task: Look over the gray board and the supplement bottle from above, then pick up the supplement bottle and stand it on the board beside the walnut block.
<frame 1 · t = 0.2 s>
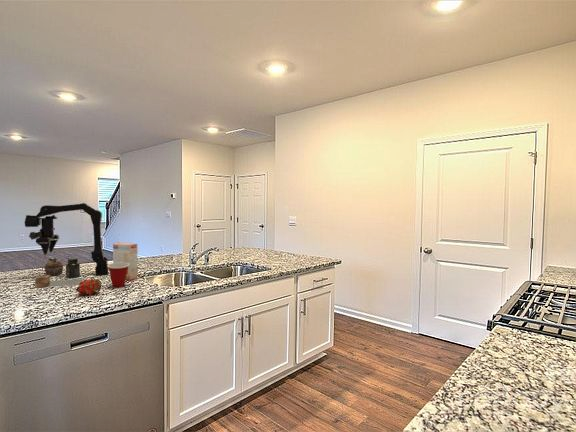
hand: (48, 253, 197), 15 cm above the table, tool pointing down, fingers open, 9 cm apart
walnut block: (42, 286, 175), point 1 cm above the table, touching gray board
plastic cup: (118, 286, 182), on the table
dragon fruit: (88, 295, 165), on the table
cupcake: (54, 275, 205), on the table
cracker box: (125, 278, 199), on the table
supplement bottle: (73, 279, 195), on the table
gray board: (60, 285, 181), on the table
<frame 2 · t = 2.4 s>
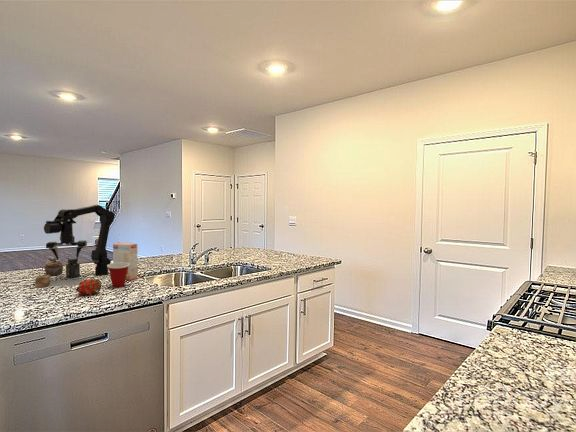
hand: (67, 259, 189), 13 cm above the table, tool pointing down, fingers open, 9 cm apart
nothing on the table moved.
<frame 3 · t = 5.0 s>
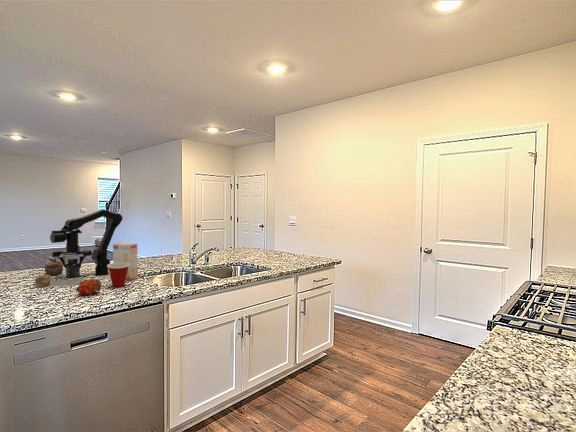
hand: (72, 268, 195), 7 cm above the table, tool pointing down, fingers closed on supplement bottle, 7 cm apart
supplement bottle: (73, 279, 195), on the table, touching gripper
everything else where it was.
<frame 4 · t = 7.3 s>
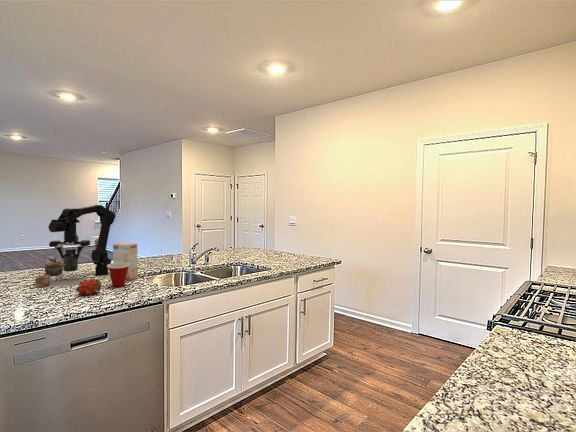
hand: (70, 258, 188), 13 cm above the table, tool pointing down, fingers closed on supplement bottle, 7 cm apart
supplement bottle: (70, 270, 189), point 6 cm above the table, touching gripper
everything else where it was.
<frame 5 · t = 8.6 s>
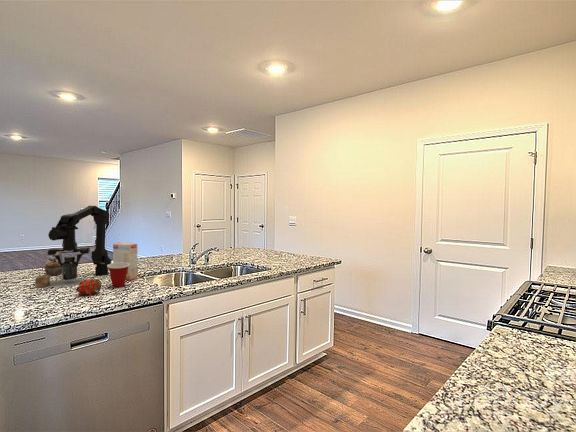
hand: (69, 266, 183), 10 cm above the table, tool pointing down, fingers closed on supplement bottle, 7 cm apart
supplement bottle: (69, 278, 184), point 3 cm above the table, touching gripper
everything else where it was.
when the fingers open (9 cm above the table, at t = 9.7 s): supplement bottle drops 1 cm, resting on gray board.
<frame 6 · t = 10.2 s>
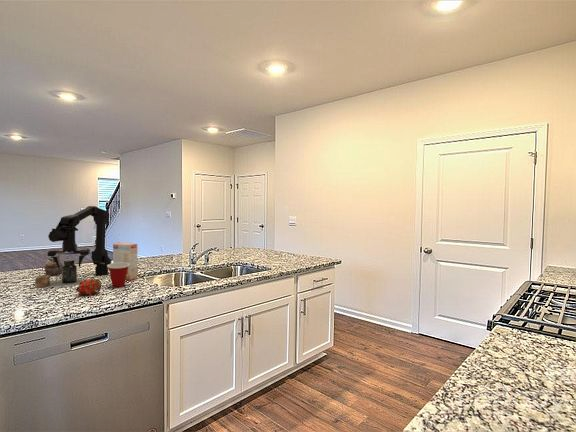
hand: (69, 268, 183), 9 cm above the table, tool pointing down, fingers open, 9 cm apart
supplement bottle: (69, 282, 184), point 1 cm above the table, touching gray board
everything else where it was.
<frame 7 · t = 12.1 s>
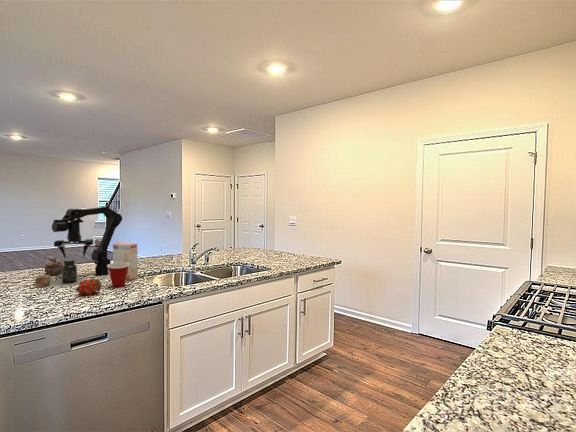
hand: (74, 257, 194), 13 cm above the table, tool pointing down, fingers open, 9 cm apart
nothing on the table moved.
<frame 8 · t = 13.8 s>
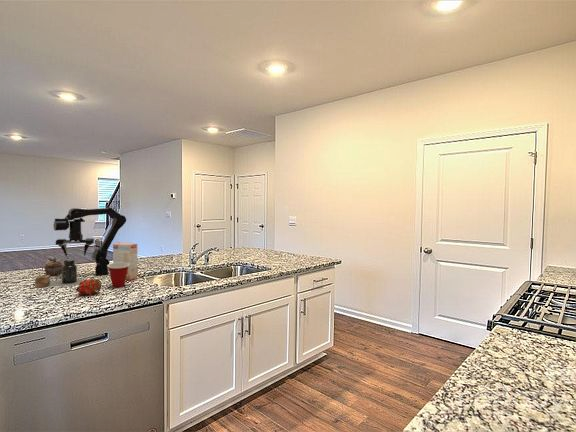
hand: (75, 256, 198), 13 cm above the table, tool pointing down, fingers open, 9 cm apart
nothing on the table moved.
at the end: supplement bottle inside the target area on the gray board (4.1 cm from its centre), point 1.0 cm above the gray board's base; supplement bottle tilted 0°; walnut block moved 0.0 cm from its start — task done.
